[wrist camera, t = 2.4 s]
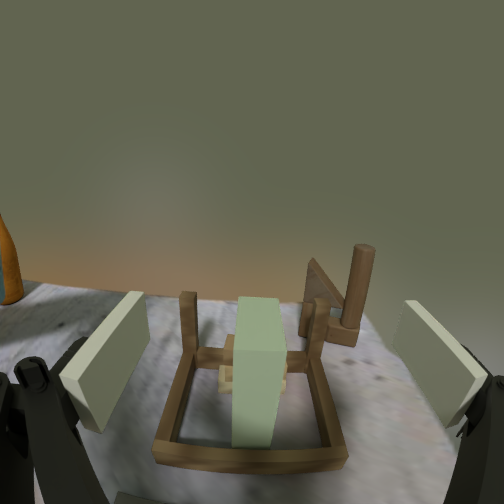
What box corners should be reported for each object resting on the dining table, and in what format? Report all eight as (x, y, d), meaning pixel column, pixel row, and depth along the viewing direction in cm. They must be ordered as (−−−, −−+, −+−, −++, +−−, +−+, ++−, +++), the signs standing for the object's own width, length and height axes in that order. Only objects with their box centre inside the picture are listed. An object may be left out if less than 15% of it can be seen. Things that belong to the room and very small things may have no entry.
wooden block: (302, 326, 53) (314, 235, 48) (356, 338, 49) (376, 245, 44) (297, 336, 50) (310, 240, 44) (354, 348, 46) (377, 251, 41)
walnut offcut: (223, 365, 34) (223, 349, 33) (227, 349, 37) (227, 334, 37) (278, 369, 34) (280, 354, 33) (278, 353, 37) (280, 338, 36)
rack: (156, 463, 23) (131, 392, 19) (187, 359, 42) (182, 291, 38) (341, 469, 23) (378, 401, 19) (314, 365, 42) (328, 298, 38)
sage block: (231, 457, 25) (233, 349, 20) (235, 402, 34) (238, 296, 29) (267, 458, 25) (287, 351, 20) (265, 404, 34) (278, 298, 29)
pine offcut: (218, 394, 35) (218, 381, 34) (219, 377, 39) (219, 364, 38) (283, 395, 36) (286, 382, 35) (281, 379, 39) (283, 366, 38)
